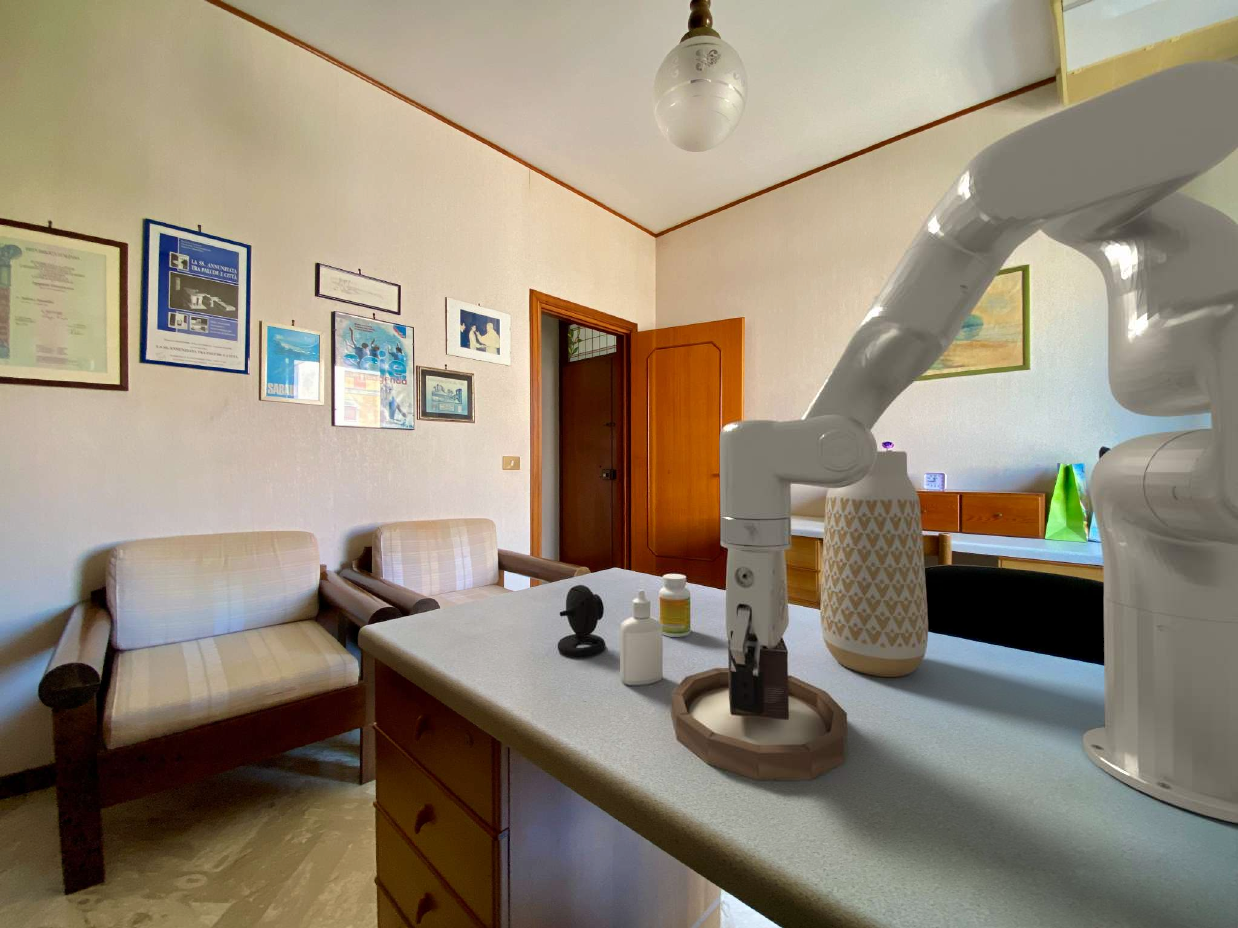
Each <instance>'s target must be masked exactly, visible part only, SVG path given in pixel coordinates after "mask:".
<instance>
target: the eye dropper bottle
mask: <svg viewBox="0 0 1238 928" xmlns="http://www.w3.org/2000/svg"><path fill="white" fill-rule="evenodd" d="M631 603H632V604H631V610H632V611H631V613H632V616H631V617H630V616H629V618H627V619H625V620H623V621H622V622H621V624H620V629H619V630H620V632H619V633H620V634H619V643H620V644H619V669H620V670H619V671H620V672H619V675H620V676H619V677H620V679H621V681H622V682H623V683H624V684H625V685H627V686H644V685H651V684H654V683H657V682H660V681H661V680H662V679H663V675H664V673H663V671H664V669H663V668H664V667H663V666H664V663H663V661H664V659H663V657H664V655H663V654H664V653H663V651H664V650H663V634H662V624H661V622H660V621H659V618H656V617H653V616H651V600H650V599H648V598H647V597H646V595H645V590H644V589H638V591H637V597H636V598H634V599H632V600H631Z"/></svg>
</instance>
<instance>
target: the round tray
mask: <svg viewBox="0 0 1238 928" xmlns="http://www.w3.org/2000/svg"><path fill="white" fill-rule="evenodd" d="M788 699H789V719H788V720H777V719H769V718H758V717H745V716H735V715H731V713H730V704H729V667H714V668H712V669H708V670H705V671H701V672H697V673H695V674H691V675H688V676H686V677H684V678H683V679H682V680H681V682H679V683H678V685H677V686H676V687H675V688H674V689H673V690H672V691H671V693H670V716H671V717H670V718H671V721H672V724H673V729H674V733H675V738H676V740H677V741H679V742H680V743H681V744H682V745H683V746H685V747H686V748H687V749H688V750H690V751H691V752H692V753H693V754H695V755H696V756H697V757H698V758H700V760H702V761H704V762H705V763H706V764H707V765H709V766H711V767H716V768H719V769H723V770H724V771H729V772H731V773H735V774H738V775H741V776H744V777H747V778H749V779H754V780H756V781H813V780H814V779H816V778H818V777H820V776H822V775H824V774H826V773H827V772H829V771H831V770H832V769H835V768H836V767H838V766H841V765H842V764H844V763H845V760H846V759H845V757H846V749H847V742H848V713H847V712H846V711H845V710H844V709H843V707H841V705H839V703H838V702H837V701H836V700H835V699H834V698H833V697H832V696H831V695H830V694H829V693H828V692H827V691H826V690H823V689H822V688H819V687H817V686H814V685H813V684H811V683H808V682H806V681H804V680H803V679H802V680H801V679H800V678H797V677H796V676H794V675H793V676H792V675H789V674H788Z"/></svg>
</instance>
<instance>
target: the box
mask: <svg viewBox="0 0 1238 928" xmlns="http://www.w3.org/2000/svg"><path fill="white" fill-rule="evenodd" d="M757 639H758V638H757V637H752V636H748V640H749V641H754V642H757ZM727 640H728V641H727V645H728V647H727V650H728V652H727V653H728V661H727V662H728V668H729V704H730V713H731V715H735V716H745V717H758V718H769V719H777V720H788V719H789V699H788V675H789V663H788V661H789V660H788V658H789V656H788V654H789V652H788V648H787V646H786V643H785V640H784V638H783V636H782V638H781V639H780V641H779V643H778V644H777V645H776V646H775V647H774V648H773V649H768V648H767V646H763V650H762V661H761V672H760V673H763V674H764V712H763V713H762V714H761V715H760V714H755V713H751V712H747V711H743V710H739V709H735V708H734V707H733V706H732V682H731V662H732V660H731V658H732V657H731V654H732V653H731V649H730V644H731V641H730V640H729V639H728V638H727ZM747 649H748V651H747V653H751V655H752V657H753V660H754V654H755V649H751V648H747Z"/></svg>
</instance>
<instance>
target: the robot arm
mask: <svg viewBox="0 0 1238 928" xmlns="http://www.w3.org/2000/svg"><path fill="white" fill-rule="evenodd" d="M1237 149H1238V65H1237V64H1234V63H1230V62H1225V61H1220V60H1201V61H1191V62H1187V63H1183V64H1179V65H1178V64H1177V65H1174V66H1171V67H1167V68H1165V69H1162V70H1159V71H1156V72H1153V73H1151V74H1149V75H1146V76H1143V77H1141V78H1139V79H1137V80H1134V81H1132V82H1129V83H1126V84H1124V85H1122V86H1119V87H1117V88H1114V89H1111V90H1109V91H1107V92H1104V93H1102V94H1100V95H1097V96H1095V97H1092V98H1090V99H1087V100H1085V101H1083V102H1079V103H1078V104H1075V105H1072V106H1071V107H1068V108H1065V109H1063V110H1061V111H1058V112H1055V113H1053V114H1051V115H1048V116H1045V117H1043V118H1041V119H1039V120H1037V121H1034V122H1032V123H1030V124H1027V125H1026V126H1023V127H1021V128H1019V129H1017V130H1015V131H1013V132H1011V133H1008V134H1007V135H1005V136H1003V137H1002V138H999V139H998V140H996V141H995V142H993V143H991V144H989V145H988V146H986V147H984V148H983V149H982V150H981V151H980V152H979V153H977V154H976V156H974V157H973V158H972V159H971V160H970V161H969V162H968V163H967V165H966V166H965V167H964V168H963V170H962V171H961V173H960V174H959V175H958V177H957V178H956V179H955V180H954V181H953V183H952V185H951V186H949V188H948V190H946V192H945V193H944V194H943V196H942V197H941V198H940V199H939V200H938V202H937V203H936V204H935V206H934V207H933V209H932V210H931V211H930V213H929V215H928V216H927V217H926V219H925V221H924V222H923V224H922V225H921V227H920V228H919V230H918V232H917V233H916V234H915V236H914V238H913V239H912V241H911V243H910V244H909V246H908V247H907V248H906V250H905V252H904V253H903V255H902V257H901V259H900V260H899V262H898V263H897V265H896V267H895V268H894V269H893V271H892V273H891V274H890V276H889V278H888V279H887V281H886V283H885V284H884V286H883V287H882V289H881V290H880V292H879V293H878V295H877V297H876V298H875V300H874V301H873V303H872V304H871V305H870V307H869V309H868V310H867V311H866V314H865V315H864V317H863V318H862V320H861V322H860V323H859V325H858V326H857V328H856V330H855V331H854V332H853V334H852V336H851V338H850V339H849V342H848V343H847V346H846V347H845V349H844V351H843V353H842V355H841V356H840V358H839V360H838V361H837V362H836V364H835V366H834V368H833V369H832V371H831V372H830V373H829V375H828V377H827V379H826V380H825V382H824V383H823V385H822V386H821V388H820V389H819V391H818V392H817V394H816V396H815V397H814V398H813V401H812V402H811V403H810V405H809V406H808V408H807V410H806V411H805V413H804V414H803V416H802V418H801V419H800V418H799V419H793V420H786V421H785V420H784V421H778V420H769V419H754V420H753V419H752V420H751V419H749V420H739V421H733V422H729V423H727V424H726V425H724V426H723V427H722V428H721V431H720V432H719V433H720V434H719V494H720V495H719V497H720V499H719V501H720V503H719V509H720V510H719V511H720V546H721V547H723V548H725V549H727V559H726V578H725V579H726V580H725V584H726V585H725V631H726V637H727V640H728V639H729V640H730V641H731V644H730V649H731V653H732V654H731V657H732V658H731V660H732V662H731V682H732V706H733V707H734V708H735V709H739V710H743V711H747V712H751V713H755V714H760V715H761V714H762V713H763V712H764V674H763V673H760V672H761V661H762V650H763V646H767V648H768V649H773V648H774V647H775V646H776V645H777V644H778V643H779V641H780V639H781V638H782V637H783V636H784V634H785V632H786V631H787V628H788V626H789V621H790V620H789V617H790V616H789V615H790V613H789V601H788V594H789V593H788V580H787V579H788V578H787V577H788V575H787V565H786V563H787V562H786V554H785V551H788V550H790V549H792V501H791V500H792V495H791V493H792V490H791V489H792V485H803V486H809V487H810V486H811V487H817V488H818V487H820V488H825V489H829V488H842V487H846V486H850V485H852V484H855V483H857V482H858V481H860V480H861V479H863V478H864V477H865V476H866V475H867V474H868V473H869V472H870V471H871V469H872V468H873V466H874V464H875V461H876V458H877V451H878V444H877V441H876V438H875V436H874V434H873V433H872V431H871V430H872V429H873V428H874V426H875V425H876V423H877V422H878V420H879V419H880V417H881V416H883V414H884V413H885V412H886V410H887V409H888V408H889V407H890V405H891V404H892V403H893V402H894V401H895V400H896V399H897V398H898V397H899V396H900V395H901V394H902V393H903V392H904V391H905V390H907V388H908V387H909V386H911V385H912V384H913V383H915V382H916V381H917V380H918V379H919V378H920V377H922V376H923V375H924V374H925V373H926V372H928V371H929V370H930V369H931V368H932V367H933V366H934V365H935V364H936V363H937V362H938V360H939V359H941V357H942V356H944V354H945V353H946V352H947V350H948V349H949V347H950V346H951V345H953V342H954V341H955V339H956V337H957V336H958V334H959V332H960V331H961V329H962V328H963V327H964V325H965V323H966V321H968V318H969V317H970V315H971V314H972V312H973V311H974V309H975V308H976V307H977V305H978V304H979V301H980V299H982V297H983V296H984V295H985V293H986V292H987V290H988V288H989V287H990V286H991V284H992V282H993V281H994V280H995V278H996V276H998V274H999V272H1000V270H1001V269H1002V267H1003V266H1004V264H1005V263H1006V262H1007V260H1008V259H1009V257H1010V256H1011V255H1012V254H1013V253H1014V251H1015V250H1016V249H1017V248H1018V247H1019V246H1020V245H1021V244H1023V243H1025V242H1026V241H1027V240H1029V238H1031V237H1032V236H1033V235H1035V234H1036V233H1037V232H1039V231H1041V232H1042V233H1043V234H1044V235H1046V236H1047V237H1048V238H1050V239H1052V240H1054V241H1056V242H1058V243H1060V244H1062V245H1065V246H1067V247H1069V248H1071V249H1074V250H1076V251H1078V253H1081V254H1082V255H1084V256H1086V257H1087V258H1088V259H1089V260H1090V261H1092V262H1093V263H1094V264H1095V265H1096V267H1097V268H1098V269H1099V270H1100V272H1101V274H1102V276H1103V278H1104V283H1105V286H1106V287H1105V288H1106V297H1107V361H1108V362H1107V375H1108V376H1107V378H1108V384H1109V388H1110V392H1111V394H1112V395H1111V396H1112V397H1113V398H1114V400H1115V401H1116V403H1118V404H1119V405H1120V406H1121V407H1122V408H1124V409H1125V410H1127V411H1130V412H1131V413H1134V414H1137V415H1140V416H1148V417H1157V418H1158V417H1160V418H1161V417H1162V418H1163V417H1172V418H1173V417H1181V416H1192V415H1201V414H1202V415H1203V414H1204V415H1205V414H1210V421H1211V424H1210V425H1211V428H1201V429H1187V430H1176V431H1175V430H1173V431H1165V432H1163V431H1162V432H1155V433H1150V434H1145V435H1141V436H1137V437H1134V438H1130V439H1128V440H1126V441H1122V442H1120V443H1118V444H1117V445H1115V446H1113V447H1112V448H1110V449H1109V450H1107V451H1105V453H1104V454H1103V455H1102V456H1101V457H1100V458H1099V459H1098V460H1097V461H1096V464H1095V465H1094V467H1093V468H1092V472H1091V474H1090V478H1089V496H1090V503H1091V507H1092V510H1093V514H1094V515H1093V516H1094V519H1095V522H1096V525H1097V529H1098V534H1099V539H1100V545H1101V553H1102V566H1103V638H1104V639H1103V641H1104V643H1103V646H1104V647H1103V652H1104V659H1103V661H1104V663H1103V665H1104V725H1105V726H1104V727H1103V726H1102V727H1095V728H1093V729H1089V730H1087V731H1086V732H1085V733H1084V734H1083V738H1082V741H1083V742H1082V744H1083V745H1082V746H1083V750H1084V752H1085V754H1086V755H1087V757H1088V758H1089V759H1090V760H1091V761H1092V762H1093V763H1094V764H1095V765H1096V766H1098V767H1099V768H1101V769H1102V770H1103V771H1105V772H1106V773H1107V774H1109V775H1111V776H1112V777H1114V779H1115V778H1116V779H1117V780H1119V781H1121V782H1122V783H1125V784H1126V785H1128V786H1130V787H1132V788H1133V789H1136V790H1138V791H1141V792H1142V793H1144V794H1146V795H1148V796H1151V797H1153V798H1156V799H1158V800H1161V801H1162V802H1166V803H1168V804H1170V805H1173V806H1176V807H1178V808H1181V809H1184V810H1187V811H1191V812H1194V813H1196V814H1200V815H1202V816H1205V817H1206V816H1207V817H1209V818H1213V819H1217V820H1219V821H1220V820H1222V821H1225V822H1231V823H1234V824H1238V223H1237V221H1235V220H1234V219H1232V218H1231V217H1230V216H1229V215H1227V214H1226V213H1224V212H1223V211H1221V210H1219V209H1217V208H1215V207H1213V206H1210V205H1208V204H1207V203H1204V202H1201V201H1200V200H1197V199H1195V198H1193V197H1190V196H1188V195H1186V194H1183V193H1181V192H1178V190H1180V189H1181V188H1183V187H1185V186H1187V185H1188V184H1190V183H1191V182H1193V181H1194V180H1196V179H1198V178H1199V177H1201V176H1203V175H1204V174H1206V173H1207V172H1209V171H1210V170H1212V169H1213V168H1215V167H1216V166H1218V165H1219V164H1220V163H1222V162H1223V161H1224V160H1226V159H1227V158H1228V157H1229V156H1230V155H1232V154H1233V153H1234V152H1236V150H1237ZM748 636H752V637H757V638H758V639H757V642H754V641H749V640H748ZM747 648H751V649H755V654H754V660H753V657H752V655H751V653H747V651H748V649H747Z"/></svg>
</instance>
